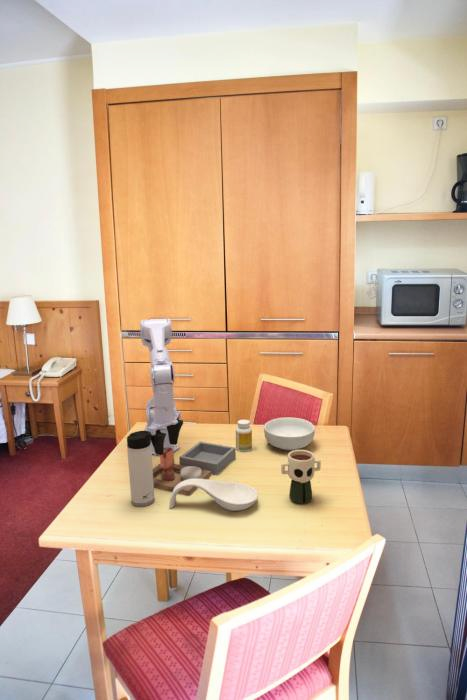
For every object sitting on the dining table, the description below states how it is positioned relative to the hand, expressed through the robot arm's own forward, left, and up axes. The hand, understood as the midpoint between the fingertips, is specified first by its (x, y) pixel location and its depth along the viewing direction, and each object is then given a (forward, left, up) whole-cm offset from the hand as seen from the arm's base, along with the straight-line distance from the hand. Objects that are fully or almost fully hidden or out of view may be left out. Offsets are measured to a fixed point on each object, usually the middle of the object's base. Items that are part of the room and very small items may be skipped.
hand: (166, 449), depth 158 cm
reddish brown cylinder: (0, 0, -9) cm, 9 cm away
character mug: (+40, +4, -10) cm, 41 cm away
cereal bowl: (+25, +36, -10) cm, 45 cm away
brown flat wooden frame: (+3, 0, -9) cm, 10 cm away
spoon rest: (+20, -8, -10) cm, 23 cm away
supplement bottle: (+12, +28, -10) cm, 32 cm away
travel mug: (+1, -14, -10) cm, 17 cm away
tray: (+6, +14, -9) cm, 18 cm away
